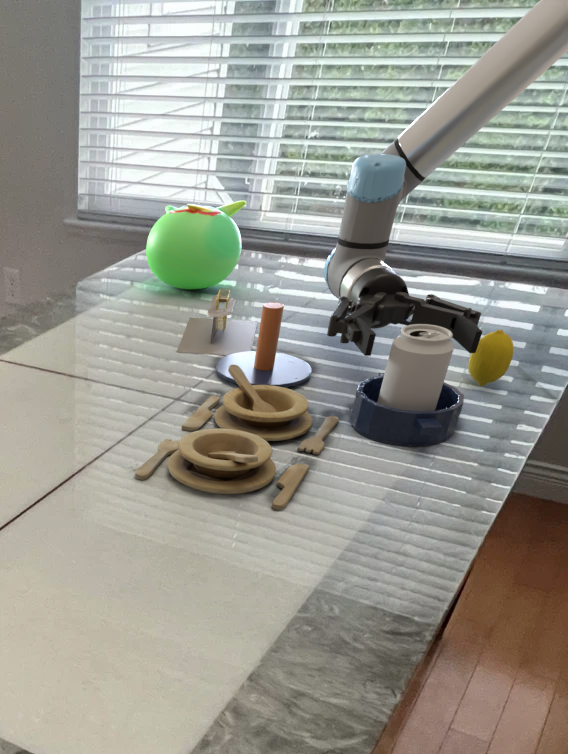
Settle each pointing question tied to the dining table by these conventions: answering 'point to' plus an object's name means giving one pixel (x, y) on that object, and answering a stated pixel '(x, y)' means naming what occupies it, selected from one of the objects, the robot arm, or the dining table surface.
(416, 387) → the can
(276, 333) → the pan lid
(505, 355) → the lemon
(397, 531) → the dining table surface
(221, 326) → the platform
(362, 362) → the dining table surface
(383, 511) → the dining table surface
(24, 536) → the dining table surface
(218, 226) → the toy bird
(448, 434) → the pan
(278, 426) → the tableware set
